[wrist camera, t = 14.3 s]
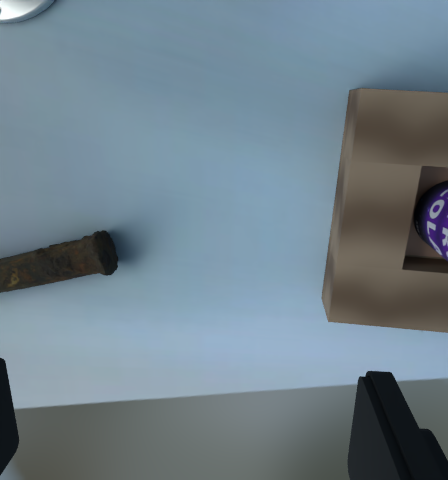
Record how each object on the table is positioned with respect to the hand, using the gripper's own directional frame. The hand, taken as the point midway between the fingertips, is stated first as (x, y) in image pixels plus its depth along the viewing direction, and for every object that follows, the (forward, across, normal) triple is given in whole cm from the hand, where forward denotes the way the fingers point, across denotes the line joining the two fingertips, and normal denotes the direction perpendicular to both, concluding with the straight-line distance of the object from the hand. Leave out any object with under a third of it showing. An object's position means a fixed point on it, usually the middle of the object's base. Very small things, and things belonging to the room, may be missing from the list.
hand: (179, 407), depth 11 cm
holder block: (+27, -18, +1) cm, 32 cm away
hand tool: (+28, +20, +9) cm, 35 cm away
